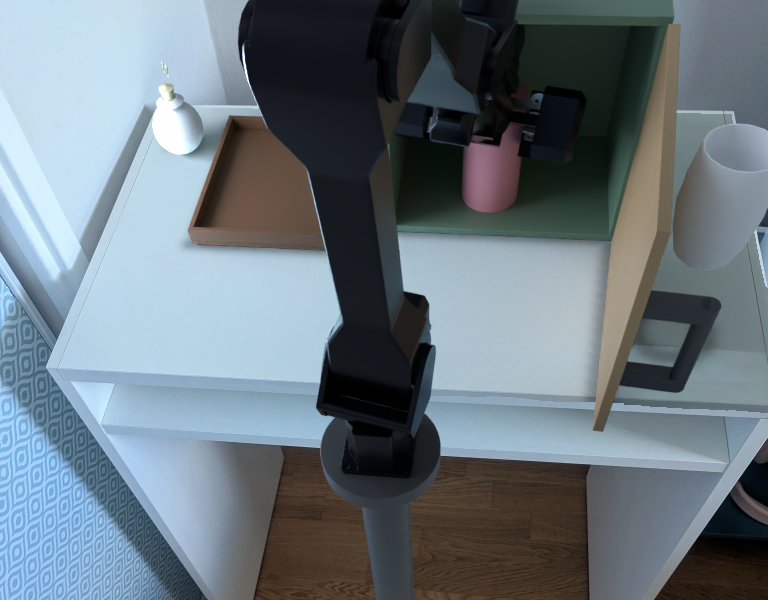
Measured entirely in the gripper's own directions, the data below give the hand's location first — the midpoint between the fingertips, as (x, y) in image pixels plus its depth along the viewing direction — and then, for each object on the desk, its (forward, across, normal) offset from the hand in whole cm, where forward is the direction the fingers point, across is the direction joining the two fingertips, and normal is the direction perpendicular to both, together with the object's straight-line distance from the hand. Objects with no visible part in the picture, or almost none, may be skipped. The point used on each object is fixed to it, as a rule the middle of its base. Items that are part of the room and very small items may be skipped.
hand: (496, 130), depth 82 cm
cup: (-5, -23, +17) cm, 29 cm away
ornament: (+5, +40, +7) cm, 41 cm away
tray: (+2, +25, +10) cm, 27 cm away
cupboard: (+7, -1, +4) cm, 9 cm away
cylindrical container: (+4, 0, +6) cm, 7 cm away
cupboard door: (-7, -20, +17) cm, 27 cm away
